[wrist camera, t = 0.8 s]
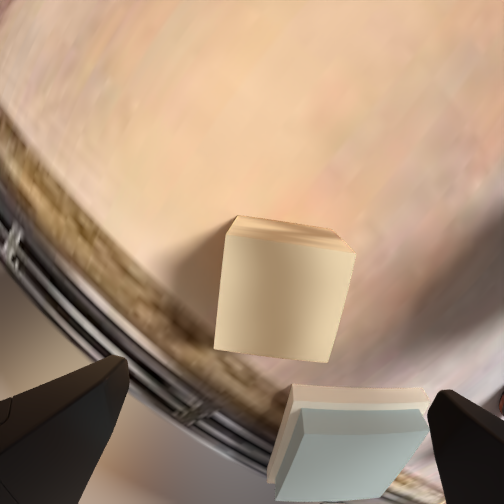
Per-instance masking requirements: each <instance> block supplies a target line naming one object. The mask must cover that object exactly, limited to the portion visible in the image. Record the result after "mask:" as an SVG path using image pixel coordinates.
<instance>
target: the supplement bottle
mask: <svg viewBox="0 0 504 504" xmlns="http://www.w3.org/2000/svg"><path fill="white" fill-rule="evenodd" d="M499 409H500V412H501V413H502V414H503V416H504V393H503V396H502V398H501V400H500V404H499Z"/></svg>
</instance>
